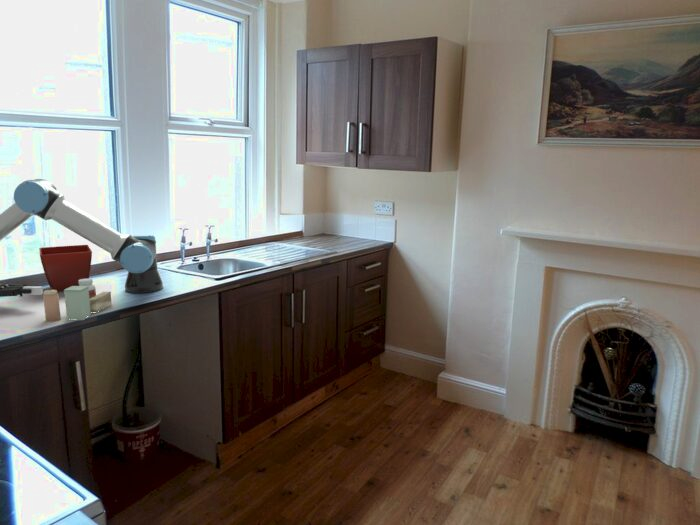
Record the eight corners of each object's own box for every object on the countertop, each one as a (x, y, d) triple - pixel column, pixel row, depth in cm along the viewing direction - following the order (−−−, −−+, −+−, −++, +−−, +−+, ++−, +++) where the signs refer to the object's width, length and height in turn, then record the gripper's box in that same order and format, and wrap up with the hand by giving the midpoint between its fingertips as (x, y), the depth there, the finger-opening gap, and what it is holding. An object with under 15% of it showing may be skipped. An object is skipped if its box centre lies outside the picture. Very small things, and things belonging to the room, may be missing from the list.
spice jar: (60, 316, 196) (57, 288, 194) (61, 320, 192) (58, 291, 190) (45, 318, 194) (42, 290, 192) (45, 322, 190) (42, 293, 188)
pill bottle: (99, 309, 206) (96, 280, 203) (81, 312, 202) (78, 282, 200) (94, 305, 210) (92, 277, 208) (77, 308, 206) (74, 279, 204)
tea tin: (66, 320, 192) (63, 289, 190) (75, 315, 198) (72, 285, 196) (83, 320, 192) (80, 290, 190) (91, 315, 198) (88, 286, 196)
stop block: (88, 313, 200) (87, 299, 199) (103, 304, 212) (102, 291, 211) (97, 313, 200) (95, 299, 199) (111, 304, 212) (110, 291, 211)
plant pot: (95, 290, 234) (92, 250, 231) (44, 295, 225) (39, 254, 221) (91, 281, 250) (87, 244, 247) (43, 285, 241) (39, 247, 238)
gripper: (-9, 295, 212) (52, 295, 212) (-33, 304, 200) (32, 305, 199) (-12, 276, 211) (50, 276, 211) (-36, 284, 198) (30, 284, 198)
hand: (41, 290), depth 205 cm, fingers closed
